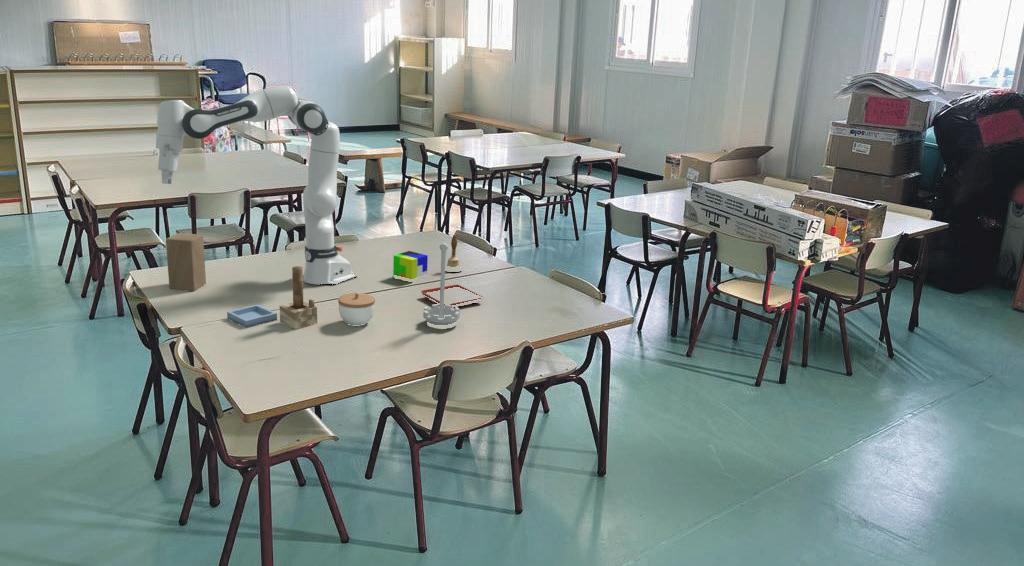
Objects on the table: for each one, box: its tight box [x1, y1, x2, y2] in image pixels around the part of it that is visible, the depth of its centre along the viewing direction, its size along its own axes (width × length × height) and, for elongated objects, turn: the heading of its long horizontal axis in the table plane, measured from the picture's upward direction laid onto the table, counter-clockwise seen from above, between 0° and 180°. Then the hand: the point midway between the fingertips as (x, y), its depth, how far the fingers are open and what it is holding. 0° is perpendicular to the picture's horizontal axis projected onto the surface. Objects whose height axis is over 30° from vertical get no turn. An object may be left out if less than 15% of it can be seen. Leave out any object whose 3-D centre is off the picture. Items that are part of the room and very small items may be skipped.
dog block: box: [279, 298, 318, 330], centre depth 274 cm, size 9×9×8 cm
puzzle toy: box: [392, 250, 429, 279], centre depth 330 cm, size 10×10×10 cm
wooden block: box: [165, 232, 207, 292], centre depth 301 cm, size 10×10×20 cm
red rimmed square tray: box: [420, 284, 483, 306], centre depth 306 cm, size 18×18×3 cm
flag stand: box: [422, 242, 461, 325], centre depth 278 cm, size 13×13×30 cm
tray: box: [226, 304, 278, 329], centre depth 275 cm, size 12×12×2 cm
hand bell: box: [446, 234, 460, 267], centre depth 343 cm, size 8×8×16 cm
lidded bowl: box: [337, 292, 376, 325], centre depth 276 cm, size 13×13×11 cm
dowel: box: [291, 266, 304, 310], centre depth 272 cm, size 3×3×18 cm
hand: (166, 183), depth 282 cm, fingers open, 8 cm apart
